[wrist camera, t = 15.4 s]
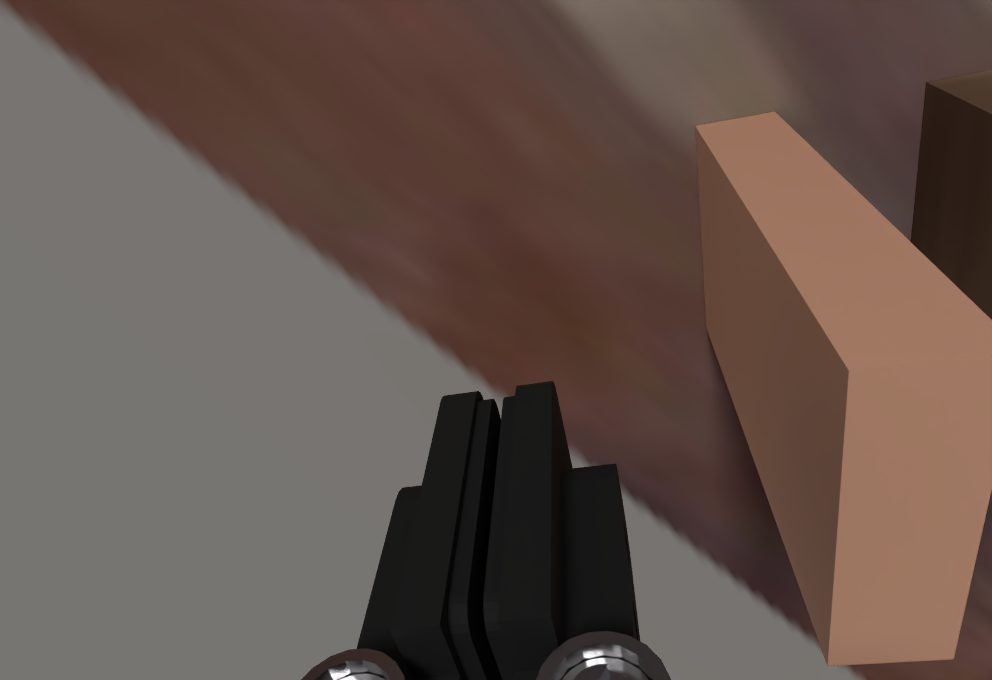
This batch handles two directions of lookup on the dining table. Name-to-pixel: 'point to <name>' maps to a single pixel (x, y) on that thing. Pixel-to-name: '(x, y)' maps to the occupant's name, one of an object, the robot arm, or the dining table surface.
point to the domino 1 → (848, 391)
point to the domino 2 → (957, 184)
